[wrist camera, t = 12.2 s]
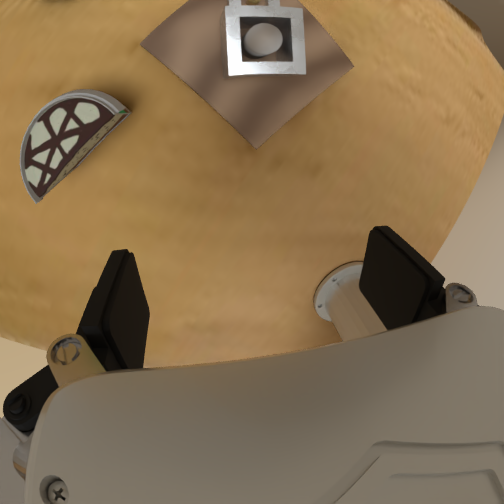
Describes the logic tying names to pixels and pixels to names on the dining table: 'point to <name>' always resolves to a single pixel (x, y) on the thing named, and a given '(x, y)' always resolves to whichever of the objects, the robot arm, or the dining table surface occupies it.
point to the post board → (253, 50)
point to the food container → (66, 137)
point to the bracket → (250, 15)
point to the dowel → (252, 2)
